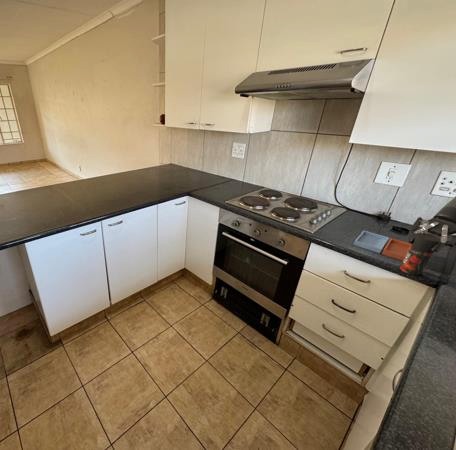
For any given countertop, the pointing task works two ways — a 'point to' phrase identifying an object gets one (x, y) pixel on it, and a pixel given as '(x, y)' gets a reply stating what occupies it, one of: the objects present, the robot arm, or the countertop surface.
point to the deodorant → (419, 254)
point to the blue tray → (371, 241)
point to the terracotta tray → (396, 249)
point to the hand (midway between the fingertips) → (421, 246)
